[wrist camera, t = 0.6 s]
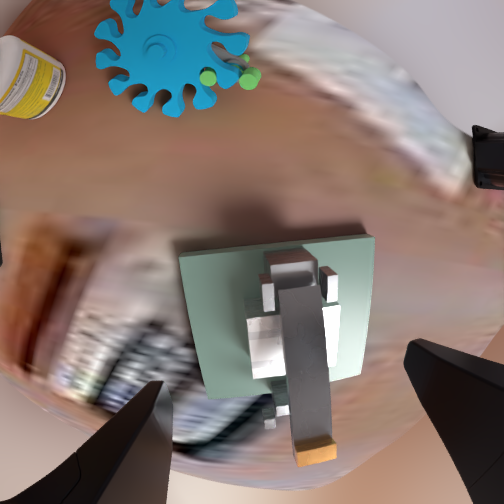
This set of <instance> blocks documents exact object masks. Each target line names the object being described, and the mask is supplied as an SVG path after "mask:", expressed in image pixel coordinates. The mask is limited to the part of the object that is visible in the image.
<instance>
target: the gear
mask: <svg viewBox="0 0 504 504" xmlns="http://www.w3.org/2000/svg"><path fill="white" fill-rule="evenodd" d="M134 3H135V0H111V1H110V6H111V8H112V9H113V10H114V11H116V12H117V13H118V14H119V16H120V17H121V19H122V22H123V27H124V33H123V34H121V33H119V31H118V28H117V23H116V21H115V20H113V19H111V18H109V19H106V20H104V21H102V22H101V23H100V24H99V25H98V26H97V28H96V30H95V33H94V35H95V37H96V38H98V39H105V40H108V41H110V42H112V43H113V44H114V45H115V46H116V47H117V48H118V49H119V50H120V52H121V56H118V55H117V54H116V53H115V52H114V51H113V50H112V49H109V48H107V49H104V50H102V51H101V52H99V53H97V55H96V67H97V68H98V69H104V68H106V67H110V66H118V67H121V68H124V69H126V70H127V71H128V72H129V74H130V77H128V76H125V75H122V74H119V75H117V76H115V77H114V78H113V79H111V80H110V81H109V82H108V84H109V87H110V89H111V91H112V92H113V94H114V95H119V94H121V93H122V92H123V91H124V90H125V89H127V88H128V86H130V85H133V84H139V83H142V84H144V85H146V86H147V88H148V91H146V92H141V93H140V94H139V95H138V96H136V97H135V98H134V99H133V101H132V105H133V106H134V107H135V108H137V109H138V110H139V111H141V112H143V113H144V112H146V111H147V110H148V109H149V108H150V107H151V106H152V105H153V103H154V97H155V95H156V93H157V92H158V91H159V90H161V89H167V90H169V91H170V92H171V94H172V98H170V99H169V100H168V101H167V102H166V104H165V105H164V106H163V108H162V112H163V114H165V115H168V116H171V117H179V116H180V115H181V113H182V112H183V111H184V109H185V104H184V101H183V96H182V93H183V88H184V86H185V84H192V85H194V86H195V88H196V90H197V93H196V95H195V97H194V99H193V105H194V107H195V108H196V109H206V108H209V107H212V106H213V105H214V104H215V102H216V101H217V96H216V94H215V92H214V91H212V90H211V89H210V87H209V86H212V85H214V84H215V83H216V82H217V83H218V84H219V86H220V87H222V88H224V89H227V88H229V87H231V86H232V85H234V84H235V83H238V82H239V83H240V86H241V87H242V88H244V89H247V90H252V89H254V88H255V87H256V86H257V84H258V82H259V80H260V78H261V73H260V71H259V70H258V69H257V68H254V67H250V68H249V65H248V61H249V56H248V55H246V54H243V52H244V51H245V50H246V48H247V46H248V43H249V38H250V36H249V35H248V34H246V33H244V32H237V33H222V32H218V31H215V30H213V29H211V28H208V27H207V26H206V25H205V23H204V19H205V17H206V16H207V15H212V16H214V17H217V18H219V19H223V20H226V19H230V18H232V17H234V16H236V15H238V8H237V5H236V3H235V1H234V0H218V1H216V2H215V3H214V4H213V5H211V6H210V7H208V8H206V9H202V10H194V11H190V10H187V9H186V8H185V7H184V0H171V1H169V2H168V3H167V4H165V5H164V6H161V5H159V4H158V3H157V0H144V2H143V6H142V9H141V11H140V13H139V15H135V14H134V13H133V5H134ZM212 42H220V43H222V44H223V45H224V47H225V48H226V49H227V51H226V50H224V49H222V48H220V47H218V46H216V45H214V44H212ZM239 55H240V56H239ZM238 56H239V57H238ZM204 68H207V69H206V70H205V71H204Z"/></svg>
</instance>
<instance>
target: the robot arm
mask: <svg viewBox="0 0 504 504" xmlns="http://www.w3.org/2000/svg"><path fill="white" fill-rule="evenodd" d="M472 133H473V143H474V156H475V183H476V187H477V188H483V189H496V190H504V132H499V133H498V132H495V131H492V130H489V129H487V128H484V127H481V126H477V125H473V126H472ZM404 368H405V370H406V372H407V374H408V377H409V379H410V381H411V383H412V385H413V387H414V389H415V392H416V394H417V396H418V398H419V400H420V402H421V404H422V406H423V408H424V409H425V411H426V413H427V415H428V416H429V418H430V420H431V422H432V423H433V425H434V427H435V429H436V430H437V432H438V434H439V436H440V438H441V439H442V441H443V443H444V445H445V447H446V449H447V450H448V453H449V454H450V456H451V458H452V460H453V462H454V464H455V466H456V468H457V470H458V472H459V474H460V476H461V478H462V480H463V482H464V484H465V486H466V488H467V491H468V493H469V495H470V497H471V500H472V502H473V504H504V365H503V364H500V363H497V362H493V361H490V360H487V359H484V358H480V357H477V356H474V355H471V354H467V353H464V352H461V351H458V350H455V349H452V348H449V347H446V346H443V345H439V344H436V343H433V342H430V341H427V340H424V339H421V338H419V339H415V340H412V341H410V342H409V344H408V346H407V350H406V354H405V358H404ZM172 423H173V404H172V399H171V397H170V394H169V391H168V388H167V385H166V383H165V382H164V381H150V382H149V383H147V384H146V385H145V386H144V387H143V388H142V389H141V390H140V391H139V392H138V393H137V394H136V395H135V396H134V397H133V398H132V399H131V400H130V401H129V402H128V403H127V404H126V405H125V406H123V407H122V408H121V409H120V410H119V411H118V412H117V413H116V414H115V415H114V416H113V417H112V418H111V419H110V420H109V421H108V422H106V423H105V424H104V425H103V426H102V427H101V428H100V429H99V430H98V431H97V432H96V433H95V434H94V435H93V436H91V437H90V438H89V439H88V440H87V441H86V442H85V443H84V444H83V445H82V446H81V447H80V448H78V449H77V451H76V452H74V453H73V454H72V455H71V456H70V457H69V458H67V459H66V460H65V461H64V462H63V463H62V464H60V465H59V466H58V467H57V468H56V469H54V470H53V471H52V472H50V473H49V474H48V475H46V476H45V477H44V478H42V479H41V480H39V481H38V482H36V483H35V484H33V485H32V486H30V487H29V488H27V489H26V490H24V491H22V492H21V493H20V494H18V495H16V496H14V497H13V498H11V499H8V500H5V501H0V504H166V500H167V491H168V482H169V473H170V465H171V457H172Z"/></svg>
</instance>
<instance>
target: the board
mask: <svg viewBox="0 0 504 504" xmlns="http://www.w3.org/2000/svg"><path fill="white" fill-rule="evenodd" d="M301 247H304V248H305V249H306V250H307V251H309V252H310V253H311V254H312V255H313V256H314V257H315V258H316V259H317V260H318V285H319V267H322V266H329V267H330V268H331V269H332V270H333V271H334V272H336V273H337V274H338V293H337V302H338V303H339V305H340V314H339V329H338V341H337V352H336V362H335V365H333V366H329V379H330V382H331V381H336V380H340V379H344V378H348V377H352V376H356V375H359V374H361V368H362V363H363V357H364V351H365V344H366V337H367V330H368V322H369V314H370V305H371V295H372V283H373V269H374V249H375V237H374V236H371V235H369V234H359V235H348V236H338V237H328V238H318V239H308V240H298V241H288V242H278V243H268V244H258V245H249V246H239V247H230V248H220V249H211V250H201V251H192V252H183V253H181V254H180V256H179V263H180V270H181V276H182V281H183V287H184V293H185V298H186V303H187V308H188V314H189V319H190V323H191V328H192V333H193V338H194V342H195V347H196V351H197V356H198V360H199V364H200V368H201V372H202V376H203V380H204V384H205V388H206V392H207V396H208V399H220V398H232V397H242V396H251V395H259V394H266V393H271V384H270V382H272V381H279V380H285V379H286V375H280V376H273V377H266V378H258V379H253V375H252V368H251V362H250V356H249V347H248V338H247V329H246V319H245V310H244V300H243V299H252V298H260V291H259V278H258V274H264V259H263V251H273V250H282V249H291V248H301Z"/></svg>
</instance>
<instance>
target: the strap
mask: <svg viewBox="0 0 504 504" xmlns="http://www.w3.org/2000/svg"><path fill="white" fill-rule="evenodd" d="M276 295H277V303H278V312H279V320H280V329H281V338H282V347H283V356H284V365H285V375H286V384H287V394H288V404H289V415H290V425H291V436H292V447H293V456H294V458H295V461H296V463H297V466H298V467H301V466H306V465H311V464H315V463H319V462H323V461H327V460H331V459H335V458H336V443H335V441H334V440H333V439H332V416H331V396H330V379H329V366H328V353H327V342H326V332H325V322H324V313H323V304H322V296H321V288H320V285H315V286H307V287H300V288H292V289H285V290H277V291H276Z"/></svg>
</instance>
